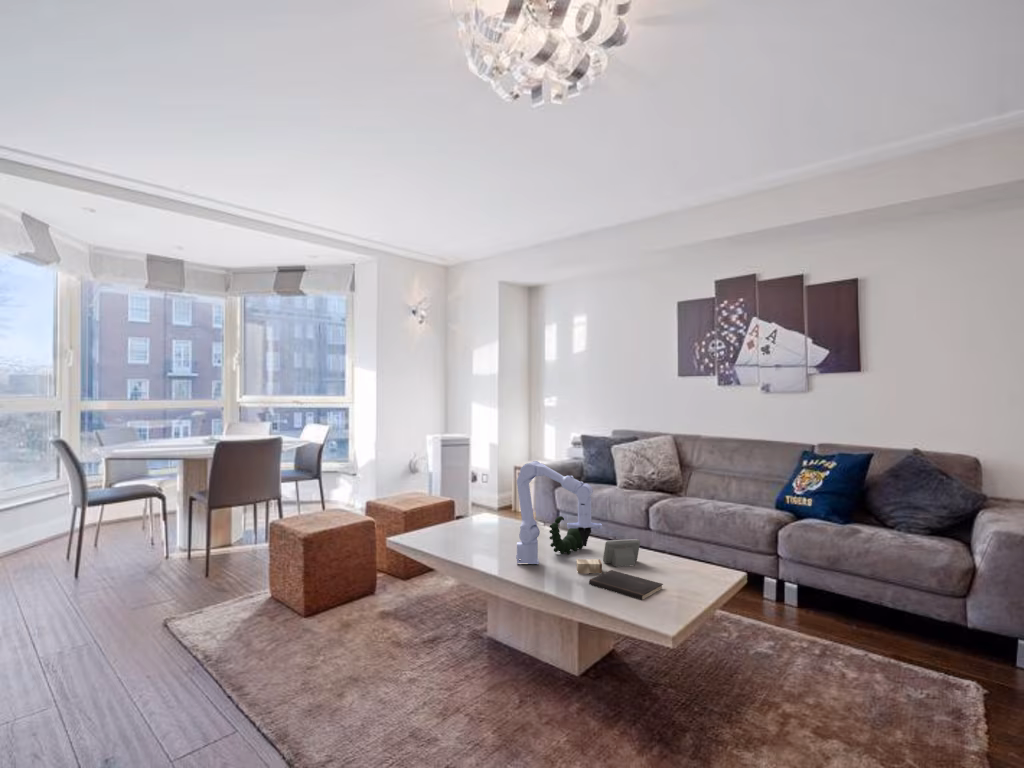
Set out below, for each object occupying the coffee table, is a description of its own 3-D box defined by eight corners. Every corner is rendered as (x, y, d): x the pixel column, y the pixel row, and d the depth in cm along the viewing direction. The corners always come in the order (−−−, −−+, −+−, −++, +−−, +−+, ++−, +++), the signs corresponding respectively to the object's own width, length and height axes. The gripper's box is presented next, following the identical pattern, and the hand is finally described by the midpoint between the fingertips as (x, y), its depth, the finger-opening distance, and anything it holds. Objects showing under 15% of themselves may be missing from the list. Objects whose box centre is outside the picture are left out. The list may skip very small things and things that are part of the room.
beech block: (577, 563, 214) (602, 564, 214) (576, 559, 220) (600, 559, 220) (577, 573, 214) (602, 573, 213) (576, 568, 220) (600, 569, 219)
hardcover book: (611, 575, 213) (611, 569, 213) (663, 589, 197) (663, 583, 197) (588, 585, 201) (588, 579, 201) (642, 601, 186) (642, 595, 186)
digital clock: (637, 560, 231) (637, 536, 231) (642, 567, 222) (642, 542, 222) (601, 560, 231) (601, 536, 231) (604, 567, 222) (604, 542, 222)
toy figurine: (561, 562, 233) (595, 546, 250) (559, 521, 232) (593, 507, 249) (546, 557, 239) (579, 542, 257) (543, 517, 238) (577, 504, 256)
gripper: (568, 515, 214) (567, 548, 214) (603, 515, 214) (603, 548, 213) (566, 511, 221) (566, 543, 221) (600, 511, 221) (600, 543, 220)
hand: (584, 545), depth 218 cm, fingers closed
